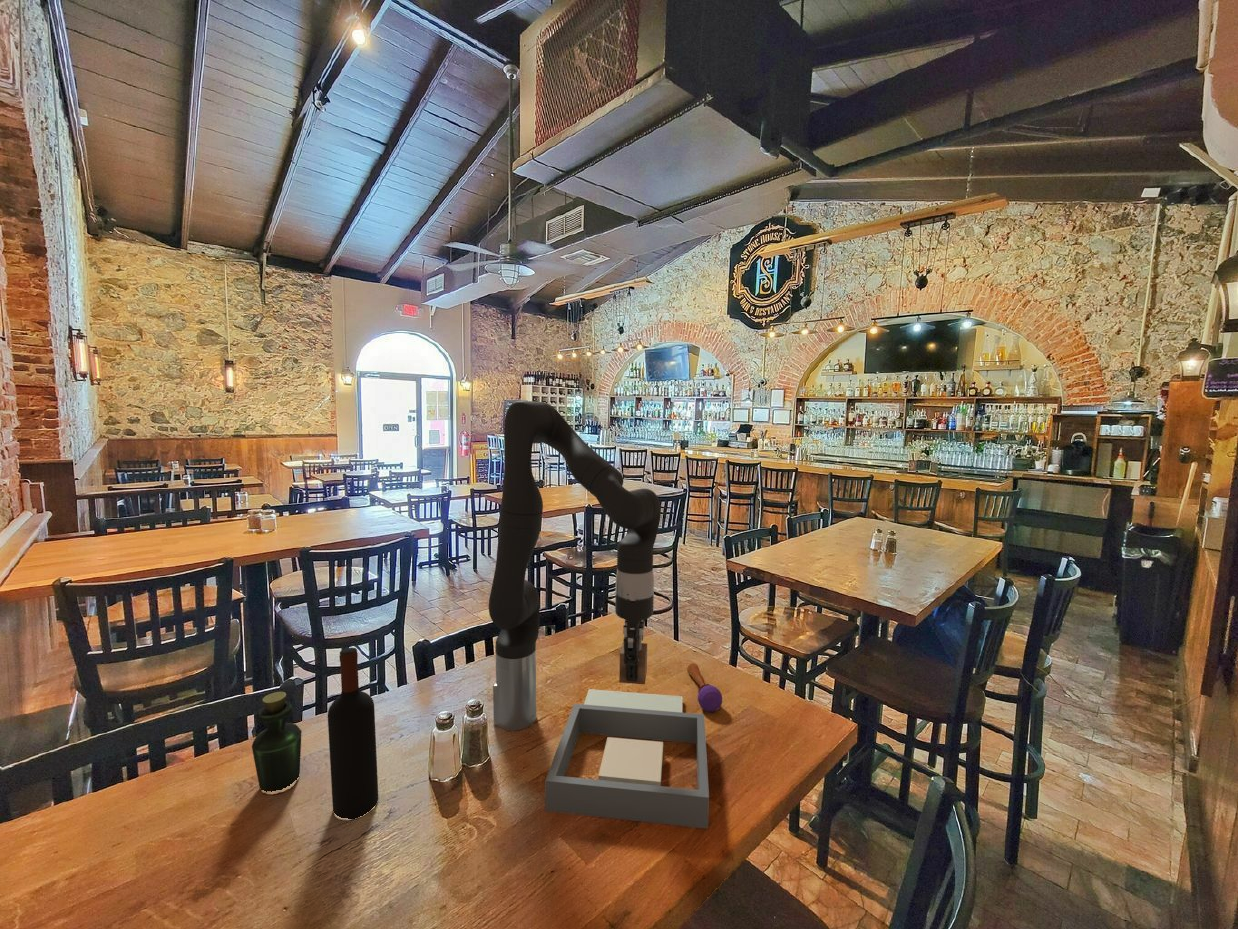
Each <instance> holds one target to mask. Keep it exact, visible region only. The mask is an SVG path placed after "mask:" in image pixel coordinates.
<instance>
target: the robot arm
mask: <svg viewBox="0 0 1238 929" xmlns="http://www.w3.org/2000/svg"><path fill="white" fill-rule="evenodd" d="M533 444H545V445H547V446H549V447H551V448H552V449H554V450H555V451H557V452H558V453H559V454H560V455H561V456H562V458H563V459H564V461H565V463H566V466H567V467H568V471H569V472H570V474H571V476H572V477H573V478H574V480H576V482H577V483H578V484H580V486H582V488H584V489H585V490H587V491H588V492H589V493H590V494H591V495H592V496H593V497H595V499H596V500H597V501H598V504H599V505H600V507H601V508H602V509H603V511H604V512H605V514H606V515H607V517H608V518H609V520H610V521H612V523H614V524H615V525H616V526H618V527H621V528H622V529H624V530H625V529H626V530H627V531H626V532H627V533H626V535H625V536H624V537H623V538H621V539H620V540H619V542H618V544H617V550H616V551H617V552H616V575H615V600H614V601H615V602H614V603H615V604H614V605H615V608H614V611H615V615H616V616H617V617H618V618H620V619H623V620H624V625H623V627H622V628H623V629H622V634H623V642H624V647H623V648H624V664H626V680H627V681H637V679H638V662H639V659H638V658H639V651H640V650H641V648H642V643H643V641H644V635H645V634H644V633H645V632H644V631H645V620H647V619H650V618H651V617H652V616H653V615H654V605H655V604H654V598H655V597H654V596H655V595H654V593H655V592H654V591H655V578H654V547H655V543H656V540H657V535H658V530H659V526H660V524H661V523H660V522H661V518H662V517H661V515H662V506H661V502H660V499H659V497H658V496H657V494H656V493H655V491H654V490H653V491H652V490H651V489H649V488H638V489H633V490H628V489H626V488H625V487H624V486H623V485H624V476H623V475H622V473H621V472H620V471H619V470H618V469H617V468H616V467H615V466H613V465H612V464H611V463H610V462H608V461H607V460H606V459H604V458H603V457H602V456H601V455H600V454H599V453H598V452H596V451H595V450H594V449H593V448H592V447H591V446H589V445H588V443H586V442H585V441H584V440H583V439H582V437H581V436H580V435H579V434H578V433H577V432H576V431H575V430H574V429H573V428H572V426H570V424H569V423H568V421H566V420H565V418H564V416H562V414H560V413H559V412H558V410H557V409H556V408H555V407H554V406H553V405H551V404H550V403H547V402H544V401H533V400H516V401H514V402H512V403H511V404H510V405H509V407H508V408H507V410H506V414H505V418H504V424H503V445H504V446H503V447H504V448H503V450H504V451H503V452H504V454H503V456H504V458H503V459H504V460H503V461H504V462H503V463H504V464H503V467H504V468H503V481H502V482H503V483H502V494H501V495H502V496H501V504H500V512H499V513H500V514H499V524H498V526H499V527H498V528H499V529H498V539H497V548H496V558H495V559H496V561H495V569H494V574H493V579H492V584H491V585H492V586H491V589H490V594H489V600H488V613H489V617H490V619H491V621H492V622H493V624H494V625H495V626H496V627H497V628H499V629H500V632H499V634H498V635H497V637H496V639H495V683H494V684H493V685H492V700H493V701H492V702H493V706H492V707H493V710H492V711H493V725H494V726H498V727H500V728H501V729H503V730H505V731H506V730H507V731H520V730H524V729H527V728H529V727H530V726H532V725H533V724H534V723H535V722H536V720H537V651H536V650H537V649H536V647H537V645H536V644H537V640H538V636H539V632H540V614H541V613H540V611H541V610H540V606H541V605H540V596H539V593H538V590H537V588H536V587H535V585H534V584H533V583H532V582H530V581H528V580H527V579H526V574H527V570H528V569H527V568H528V566H529V563H530V560H531V557H532V555H533V552H534V550H535V548H536V546H537V543H538V540H539V537H540V534H541V528H542V521H543V520H542V518H543V511H544V506H543V505H544V502H543V498H542V494H541V492H540V488H539V486H538V484H537V482H536V480H535V477H534V474H533V469H532V456H533V454H532V453H533V446H534V445H533ZM638 643H639V645H638ZM629 655H633V656H635V657H631V656H629Z"/></svg>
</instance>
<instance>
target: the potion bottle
mask: <svg viewBox="0 0 1238 929" xmlns="http://www.w3.org/2000/svg"><path fill="white" fill-rule="evenodd" d="M286 697H287V693H286V692H284V691H276V692H275V691H274V692H272V693H269V694H267V695H265V696H264V697H263V698H262V703H263V707H262V708H261V709H259V713H258V715H257V718H256V720H257V721H258V722H259V723H263V724H265V727H266V728H265V729H263V730H261V731H260V732H259V733H258V734H257V735H256V736H255V738H254V740H253V741H252V745H251V749H252V755H253V760H254V765H255V770H256V771H255V772H256V776H257V782H258V787H259V789H260V788H261V790H264V791H266V792H267V791H271V792H272V791H276V790H282V789H283V788H286V787H287V786H290V784H292V783H293V782H294V781H295V780H297V778H298V777H299V778H300V776H299V774H301V773H300V772H301V755H302V754H301V752H302V732H303V731H302V729H301V728H300V727H299V726H298V725H297V724H295V723H292V722H286V721H287V717H289V716H291V714H292V713H293V712H294V706H293V705H292V703H291V702H290V701H288V700H287V701H286ZM261 790H260V791H261Z"/></svg>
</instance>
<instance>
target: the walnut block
mask: <svg viewBox="0 0 1238 929" xmlns="http://www.w3.org/2000/svg"><path fill="white" fill-rule="evenodd" d="M638 645H639V643H638ZM623 647H624V641H623V642H622V644H621V648H620V650H619V675H618V676H619V677H618V678H619V681H618V682H619V683H622V684H633V685H634V684H636V685H646V678H647V671H648V643H645V642H642V648H641V650H640V651H639V658H638V659H639V662H638V679H637V681H627V680H626V664H624V648H623ZM629 656H631V657H635V656H633V655H629Z"/></svg>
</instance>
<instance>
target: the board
mask: <svg viewBox="0 0 1238 929" xmlns="http://www.w3.org/2000/svg"><path fill="white" fill-rule="evenodd" d="M583 704H584V705H596V706H608V707H621V708H633V709H645V710H657V711H669V712H681V713H683V696H682V695H681V696H679V695H669V694H658V693H657V694H655V693H643V692H631V691H629V692H628V691H617V690H605V689H594V688H593V689H592V688H589V689H588V691H587V694H586V696H585V700H584V702H583Z"/></svg>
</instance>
